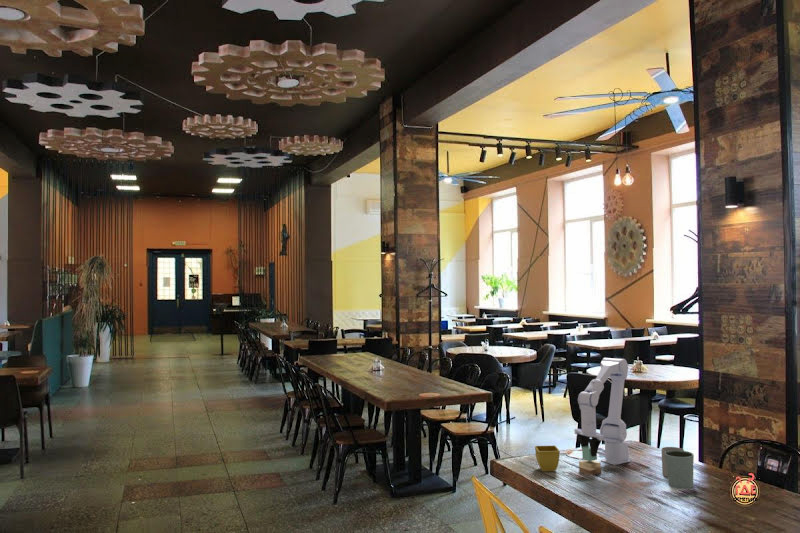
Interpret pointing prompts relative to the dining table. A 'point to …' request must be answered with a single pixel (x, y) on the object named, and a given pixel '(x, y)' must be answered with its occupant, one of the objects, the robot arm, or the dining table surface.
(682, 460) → the grey-green embossed container
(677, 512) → the dining table surface
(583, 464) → the oak slab
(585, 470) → the walnut slab
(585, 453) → the teal block
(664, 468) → the cup
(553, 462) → the flower pot
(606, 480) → the dining table surface
